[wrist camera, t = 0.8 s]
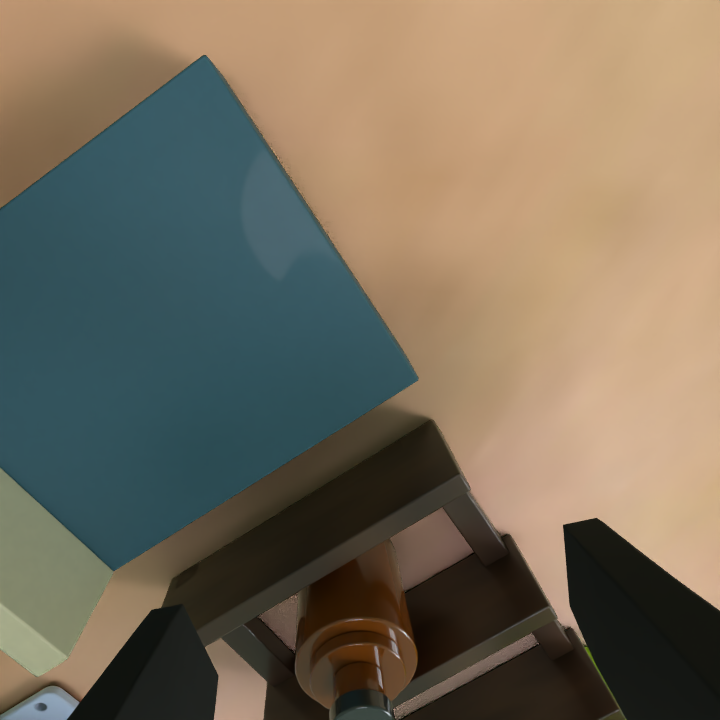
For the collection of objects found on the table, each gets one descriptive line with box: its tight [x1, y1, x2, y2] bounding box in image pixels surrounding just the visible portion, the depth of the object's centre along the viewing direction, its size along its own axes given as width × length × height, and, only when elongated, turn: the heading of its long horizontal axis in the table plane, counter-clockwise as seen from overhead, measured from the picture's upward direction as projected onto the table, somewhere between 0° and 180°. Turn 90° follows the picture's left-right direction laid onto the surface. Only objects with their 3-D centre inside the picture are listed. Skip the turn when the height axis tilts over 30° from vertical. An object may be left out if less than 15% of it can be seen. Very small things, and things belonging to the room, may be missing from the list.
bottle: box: [295, 539, 418, 720], centre depth 18 cm, size 4×4×7 cm
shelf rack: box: [161, 420, 626, 720], centre depth 20 cm, size 13×14×4 cm
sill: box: [0, 55, 418, 677], centre depth 15 cm, size 14×11×6 cm
